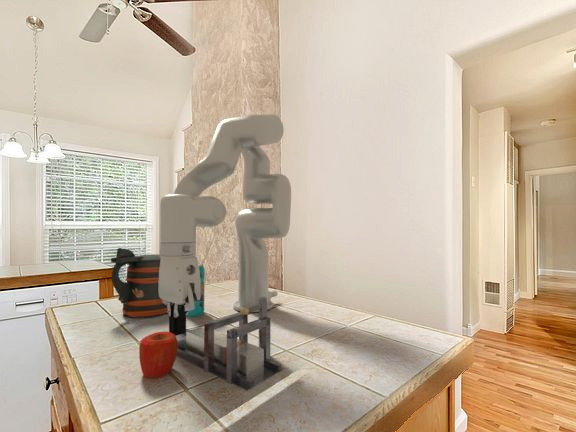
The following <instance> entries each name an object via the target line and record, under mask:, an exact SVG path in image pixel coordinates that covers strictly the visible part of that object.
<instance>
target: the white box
mask: <svg viewBox="0 0 576 432" xmlns="http://www.w3.org/2000/svg"><path fill="white" fill-rule="evenodd" d="M188 330H189V331H186V350H188V351H191V352H193V353H195V354H197V355H200V356H202V357H204V326H200V327H196V328H192V329H188ZM214 362H215V363H218V364H220V365H222V366H224V367H227V334H225V333H222V332H220V331H217V330H216V329H214ZM237 372H238V373H240V374H242V375H244V376H247V377H249V378H251V379H252V378H254V377H256V376H258V375H260V374H262V373H263V372H264V349H263V348H260V347H259V346H257V345H254V344H252V343H250V342H248V343H247V342H245V341H241V340H239V338H237Z"/></svg>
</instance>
